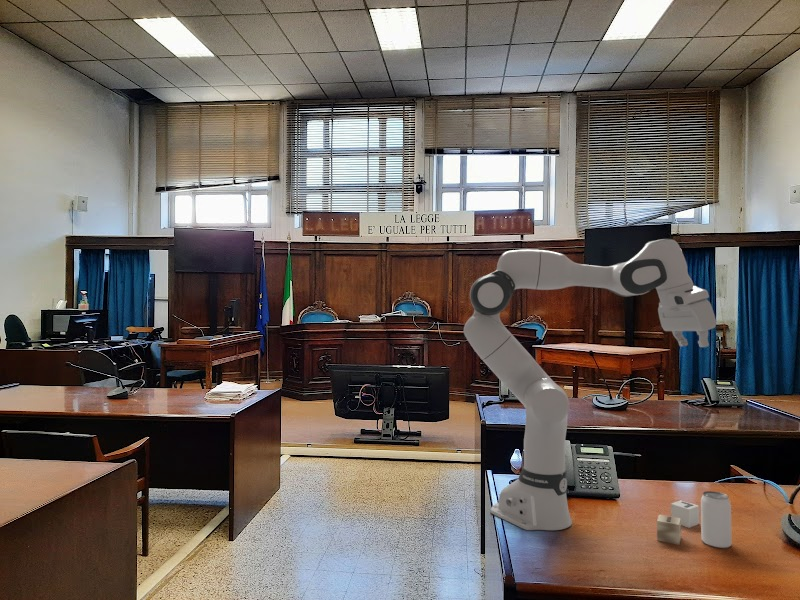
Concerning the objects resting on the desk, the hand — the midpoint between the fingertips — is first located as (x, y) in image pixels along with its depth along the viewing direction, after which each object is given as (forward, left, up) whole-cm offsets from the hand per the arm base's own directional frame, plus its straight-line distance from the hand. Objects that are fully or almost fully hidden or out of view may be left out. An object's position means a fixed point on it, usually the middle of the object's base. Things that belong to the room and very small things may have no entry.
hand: (693, 346), depth 141 cm
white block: (-4, +3, -49) cm, 49 cm away
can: (+6, -5, -49) cm, 49 cm away
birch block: (-3, -11, -49) cm, 50 cm away
